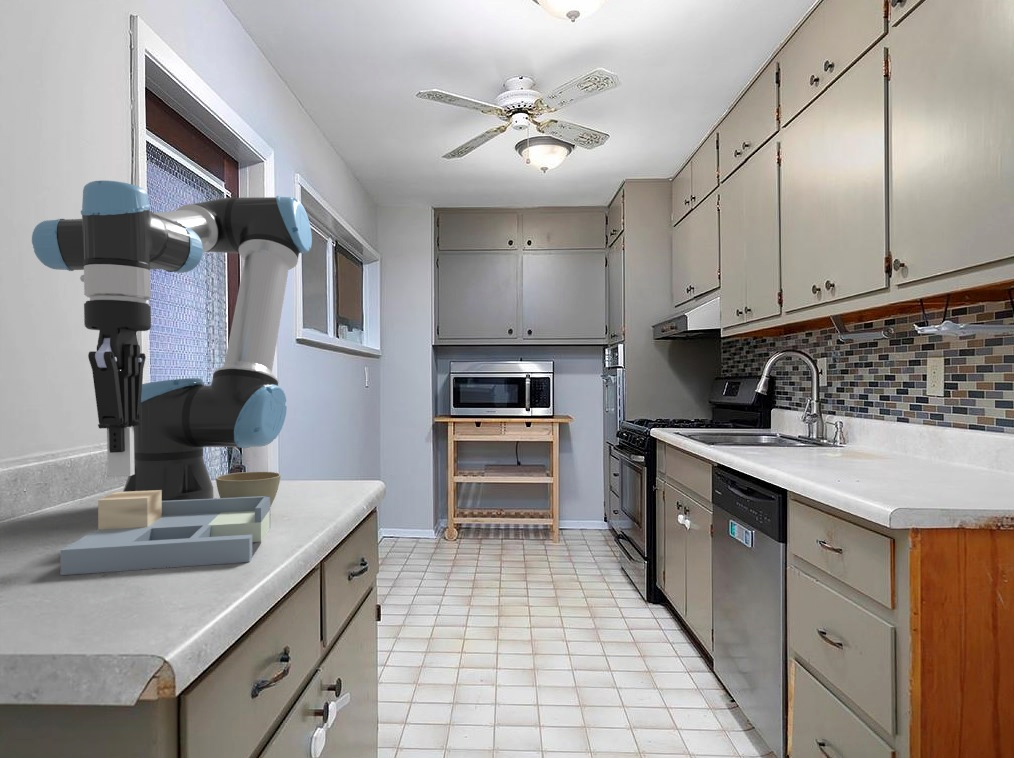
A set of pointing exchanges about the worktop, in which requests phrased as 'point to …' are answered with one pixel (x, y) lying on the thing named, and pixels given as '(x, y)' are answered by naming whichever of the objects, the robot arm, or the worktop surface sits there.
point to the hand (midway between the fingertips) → (121, 475)
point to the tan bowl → (248, 484)
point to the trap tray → (176, 538)
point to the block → (129, 509)
